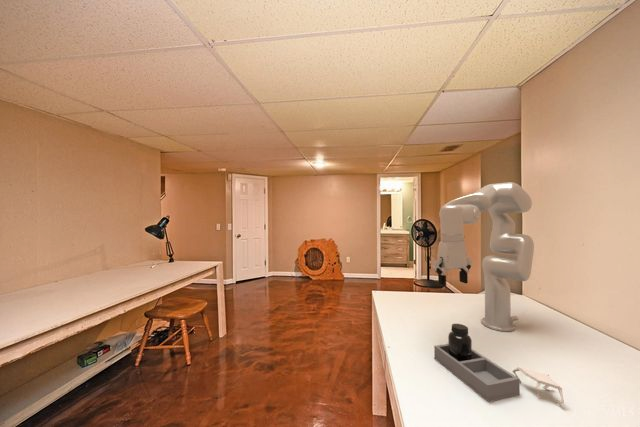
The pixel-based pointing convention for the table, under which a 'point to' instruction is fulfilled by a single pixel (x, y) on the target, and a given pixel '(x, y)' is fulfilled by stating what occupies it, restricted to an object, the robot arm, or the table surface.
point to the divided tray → (480, 374)
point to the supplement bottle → (460, 343)
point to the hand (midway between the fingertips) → (453, 283)
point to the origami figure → (540, 381)
